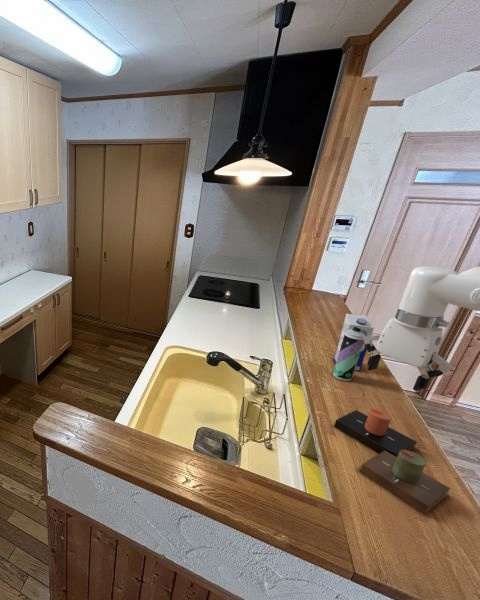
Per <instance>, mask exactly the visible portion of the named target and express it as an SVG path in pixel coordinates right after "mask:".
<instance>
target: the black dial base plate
mask: <svg viewBox="0 0 480 600" xmlns="http://www.w3.org/2000/svg"><path fill="white" fill-rule="evenodd" d="M367 418H368V415H367V414H365V413H362V412H361V411H359V410H357V409H356V410H352V411H351V412H348V413H347V414H345V415H343V416H341V417H339V418H337V419H336V420H335V422H334V425H333V427H334V428H336V429H337V430H339V431H341V432H342V433H344V434H346V435H347V436H349V437H351V438H353V439H354V440H355V441H356V442H357V441H358V442H359V443H361V444H362V445H364V446H366V447H367V448H369V449H371V450H373V451H374V452H376V453H377V454H380V453H382V452H383V451H387V452H389V453H390V454H392V455H394V456H395V457H397V456H398V454H399V452H400V450H408V451H411V452H412V451H413V450H414V449H415V447H416V445H417V441H416V440H414V439H412V438H410V437H409V436H407V435H405V434H403V433H401V432H399V431H398V430H395V429H394V428H391V427H390V426H388V429H387V431H386V434H385V435H384V436H378V435H375V434H372V433H370V432H369V431H367V430H366V429H365V427H364V426H365V423H366V420H367Z"/></svg>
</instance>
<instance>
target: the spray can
mask: <svg viewBox="0 0 480 600" xmlns="http://www.w3.org/2000/svg"><path fill="white" fill-rule="evenodd" d="M364 336H365V334H364V333H362V331H361V330H360V327H359V326H354V328H353V329H351V330H347V331H346V332H345V334H344V338H343V341H342V345H341V348H340V351H339V355H338V358H337V362H336V363H335V366H334V369H333V372H332V376H333V377H334V378H335V379H338V380H340V381H344V382H350V381H352V380H353V377H354V373H355V371H356V370H355V368H356V364H357V361H358V358H359V355H360V352H361V349H362V346H363V343H364V339H363V337H364Z"/></svg>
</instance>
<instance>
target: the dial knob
mask: <svg viewBox="0 0 480 600" xmlns="http://www.w3.org/2000/svg"><path fill="white" fill-rule="evenodd" d="M367 416H368V418H367V420H366V423H365V426H364V427H365V429H366V430H367V431H369V432H370V433H372V434H375V435H378V436H384V435H385V434H386V431H387V429H388V427H390V424H391V421H392V419H393V416H392V415H391V414H390V413H388V412H387V411H385V410H382V409H379V408H374V407H371V408H370V410H369V412H368V415H367Z"/></svg>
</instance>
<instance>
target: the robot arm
mask: <svg viewBox="0 0 480 600" xmlns="http://www.w3.org/2000/svg"><path fill="white" fill-rule="evenodd" d="M449 305H454V306H456V307H460V308H463V309H467V310H471V311H476V312H480V266H475V267H472V268H469V269H467V270H463V272H461V273H458V272H456V271H455V270H453V269H450V268H445V267H439V266H430V265H429V266H428V265H426V266H425V265H423V266H418V267H415V268H414V269H413V270H412V271H411V274H410V276H409V278H408V280H407V284H406V286H405V289H404V292H403V294H402V297H401V300H400V303H399V305H398V308H397V310H396V314H395V316H392V317H391V318H390V319H389V320H388V322H387V323H386V325H385V327H384V328H383V330H382V332H381V333H380V334H376V335H375V334H372V335H370V336H364V337H363V339H364V343H365V348H366V349H367V350H366V352H368V354H367V355H368V356H369V358H368V361H367V362H366V363H367V364H366V365H367V368H366V369H367V371H374V370H376V369H377V368H378V366H379V363H380V361H381V359H382V355H384V356H386V357H389V358H391V359H394V360H397V361H399V362H402V363H404V364H407V365H409V366H412V367H415V368H417V370H418V371H419V373H420V374H419V375H417V378H416V380H415V383H414V385H413V387H412V390H413V391H415V392H418V391H420V390H425V389H426V388H427V387H428V385H429V382H430V381H431V379H432V378H436V377H440V376H443V375H445V374H447V373H448V372H450V371H452V370H454V366H453V365H452V364H450V363H449V362H448V361H446V359H444V358H443V357H442V356H440V355H439V351H440V349H441V348H440V347H441V343H442V341H443V334H444V333H443V331H444V329H443V328H448V327H449V326H450V324H451V323H450V321H447V320H445V319H444V318H445V315H444V314H445V313H446V310H447V308H448V306H449ZM442 327H443V328H442ZM374 341H377V342H376V346H375V345H374V343H373V342H374ZM434 363H435V364H437V366H439V367H440V368H438V369H435V370H434V369H433V368H432V366H431V365H434Z"/></svg>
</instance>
